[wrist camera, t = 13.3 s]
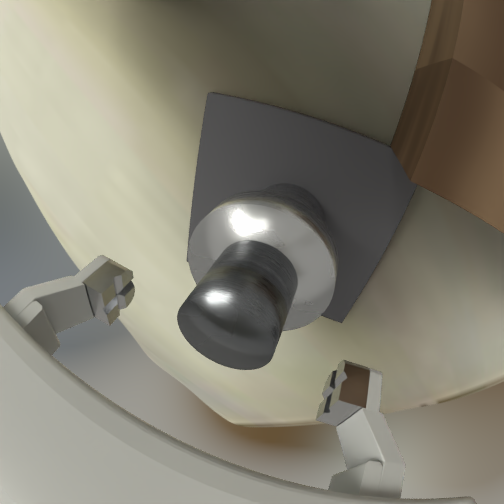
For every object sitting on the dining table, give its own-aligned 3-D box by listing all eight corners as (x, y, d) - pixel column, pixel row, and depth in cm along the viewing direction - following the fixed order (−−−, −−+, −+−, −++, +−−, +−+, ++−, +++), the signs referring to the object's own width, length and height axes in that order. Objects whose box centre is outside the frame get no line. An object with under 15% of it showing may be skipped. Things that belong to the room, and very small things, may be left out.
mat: (423, 161, 12) (425, 164, 12) (342, 317, 20) (341, 323, 19) (212, 92, 14) (208, 92, 14) (190, 257, 21) (186, 261, 21)
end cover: (361, 190, 14) (358, 310, 7) (320, 281, 18) (285, 408, 11) (245, 149, 15) (137, 223, 8) (226, 244, 19) (148, 347, 12)
